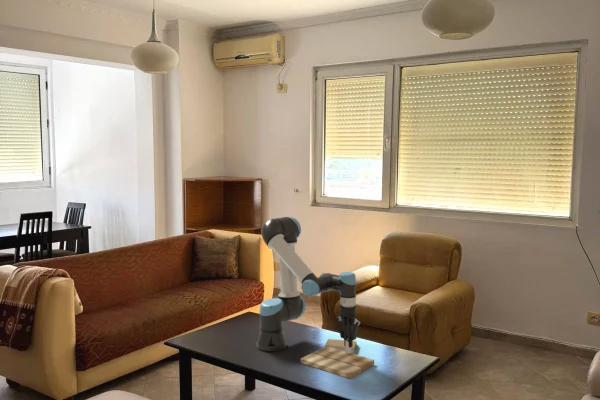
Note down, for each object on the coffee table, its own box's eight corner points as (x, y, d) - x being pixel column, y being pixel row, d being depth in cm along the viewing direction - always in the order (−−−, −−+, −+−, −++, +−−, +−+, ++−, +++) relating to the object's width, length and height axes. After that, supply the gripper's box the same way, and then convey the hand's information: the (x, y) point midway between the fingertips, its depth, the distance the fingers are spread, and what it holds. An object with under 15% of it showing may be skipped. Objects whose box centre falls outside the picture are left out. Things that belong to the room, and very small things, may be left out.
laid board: (300, 362, 246) (300, 358, 246) (312, 356, 254) (312, 352, 254) (350, 378, 229) (350, 374, 229) (362, 371, 236) (362, 367, 236)
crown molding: (353, 356, 256) (353, 349, 256) (324, 353, 259) (324, 346, 259) (356, 345, 270) (356, 339, 270) (328, 343, 273) (328, 337, 273)
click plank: (313, 356, 254) (313, 352, 254) (325, 349, 262) (325, 345, 261) (362, 371, 236) (362, 367, 236) (374, 363, 244) (374, 359, 244)
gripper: (332, 304, 251) (332, 352, 253) (355, 309, 242) (355, 358, 245) (341, 301, 256) (341, 347, 259) (364, 305, 248) (364, 354, 250)
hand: (348, 353), depth 252 cm, fingers closed
